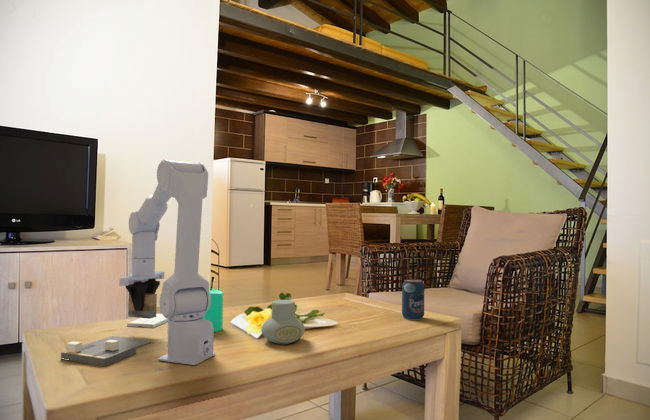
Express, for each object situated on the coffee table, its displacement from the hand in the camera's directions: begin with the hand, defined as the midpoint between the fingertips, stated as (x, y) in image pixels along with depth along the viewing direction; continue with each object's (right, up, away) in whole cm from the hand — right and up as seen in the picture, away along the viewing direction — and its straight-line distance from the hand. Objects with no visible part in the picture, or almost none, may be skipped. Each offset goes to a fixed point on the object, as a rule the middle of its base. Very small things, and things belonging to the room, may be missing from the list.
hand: (142, 309), depth 116 cm
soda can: (+76, -8, +23) cm, 80 cm away
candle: (+17, -7, +6) cm, 19 cm away
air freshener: (+38, -7, -4) cm, 38 cm away
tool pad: (-2, -6, -8) cm, 10 cm away
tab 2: (+1, -5, -18) cm, 19 cm away
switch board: (-2, -6, -18) cm, 20 cm away
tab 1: (-7, -5, -20) cm, 22 cm away
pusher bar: (0, -2, 0) cm, 2 cm away
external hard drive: (-3, -8, +14) cm, 16 cm away
